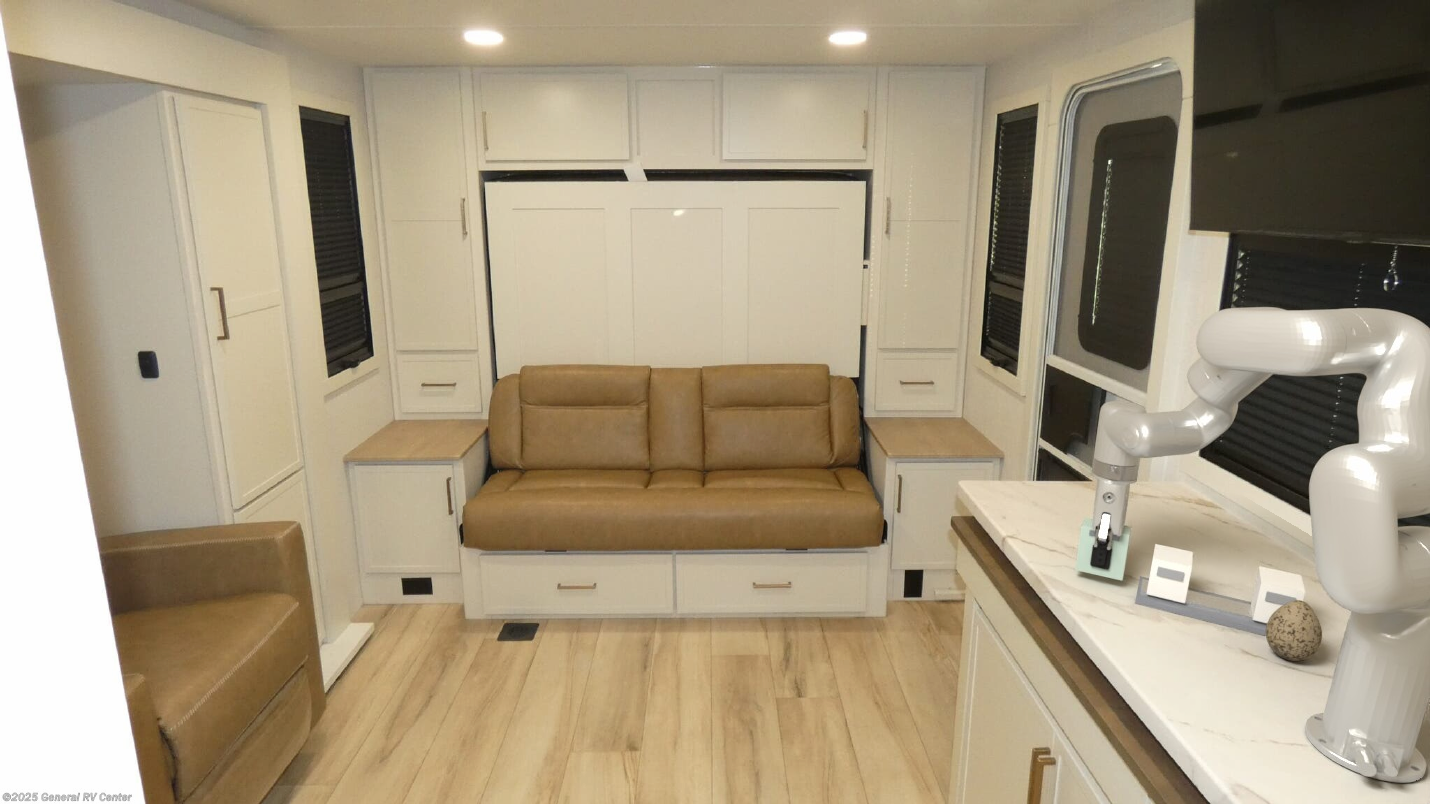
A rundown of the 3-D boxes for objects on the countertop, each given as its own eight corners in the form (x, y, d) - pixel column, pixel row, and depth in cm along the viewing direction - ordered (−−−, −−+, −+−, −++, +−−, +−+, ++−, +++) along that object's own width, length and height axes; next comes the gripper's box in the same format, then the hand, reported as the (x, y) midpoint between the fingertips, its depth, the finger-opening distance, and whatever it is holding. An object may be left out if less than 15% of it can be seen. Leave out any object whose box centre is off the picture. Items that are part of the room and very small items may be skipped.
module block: (1122, 581, 146) (1129, 535, 144) (1074, 570, 150) (1081, 525, 148) (1124, 571, 150) (1131, 526, 148) (1078, 561, 154) (1084, 517, 152)
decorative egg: (1279, 641, 132) (1292, 586, 129) (1325, 665, 126) (1340, 608, 123) (1250, 650, 129) (1263, 594, 126) (1296, 675, 123) (1311, 616, 120)
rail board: (1305, 646, 131) (1317, 598, 128) (1134, 603, 143) (1142, 559, 141) (1300, 619, 139) (1311, 574, 137) (1139, 580, 151) (1146, 539, 149)
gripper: (1134, 487, 137) (1119, 585, 141) (1141, 461, 151) (1127, 550, 155) (1086, 478, 140) (1073, 574, 145) (1097, 454, 154) (1085, 541, 159)
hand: (1101, 561), depth 150 cm, fingers closed on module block, 4 cm apart
